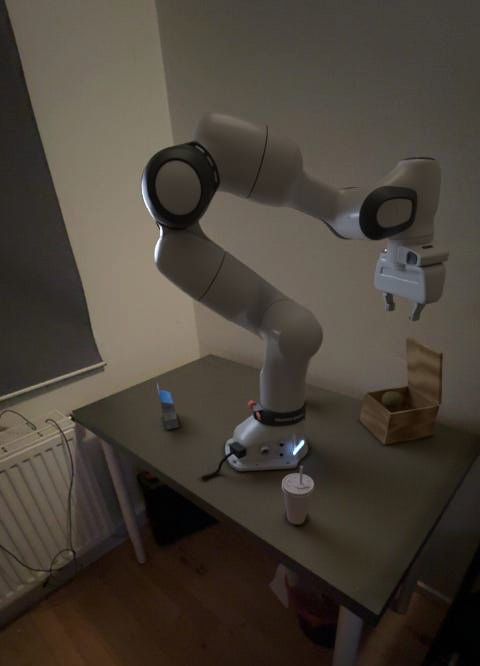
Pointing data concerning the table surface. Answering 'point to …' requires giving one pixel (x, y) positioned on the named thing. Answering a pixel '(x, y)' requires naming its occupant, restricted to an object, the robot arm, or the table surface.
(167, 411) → the cordless phone
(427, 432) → the bin
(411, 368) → the bin lid
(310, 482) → the smoothie
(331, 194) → the robot arm
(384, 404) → the olive tapered rounded piece
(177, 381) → the table surface
